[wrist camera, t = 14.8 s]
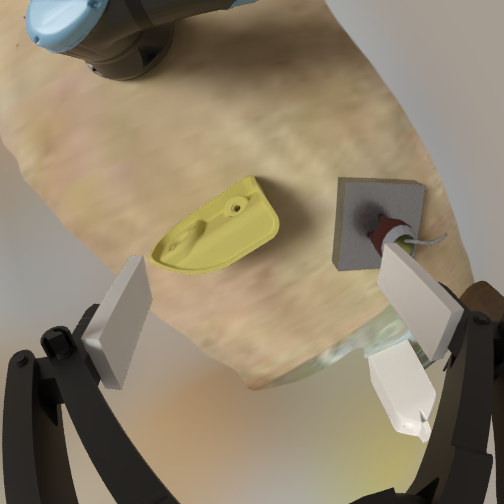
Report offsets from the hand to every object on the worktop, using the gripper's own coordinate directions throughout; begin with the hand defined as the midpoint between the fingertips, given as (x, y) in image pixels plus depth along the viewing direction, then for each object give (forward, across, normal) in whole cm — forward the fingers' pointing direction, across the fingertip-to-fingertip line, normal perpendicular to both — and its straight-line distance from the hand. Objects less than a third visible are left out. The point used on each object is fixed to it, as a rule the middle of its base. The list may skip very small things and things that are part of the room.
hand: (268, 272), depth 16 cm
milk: (+35, +37, -50) cm, 71 cm away
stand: (+35, +24, -10) cm, 43 cm away
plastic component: (+35, -5, -10) cm, 37 cm away
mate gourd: (+31, +24, -10) cm, 40 cm away
